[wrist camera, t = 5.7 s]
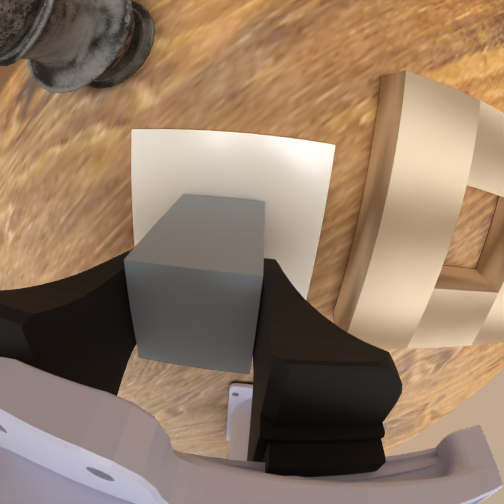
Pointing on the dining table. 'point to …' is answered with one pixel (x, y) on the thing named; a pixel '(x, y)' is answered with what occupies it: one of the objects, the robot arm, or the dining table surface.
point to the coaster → (238, 185)
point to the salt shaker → (76, 40)
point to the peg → (199, 283)
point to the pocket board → (425, 222)
